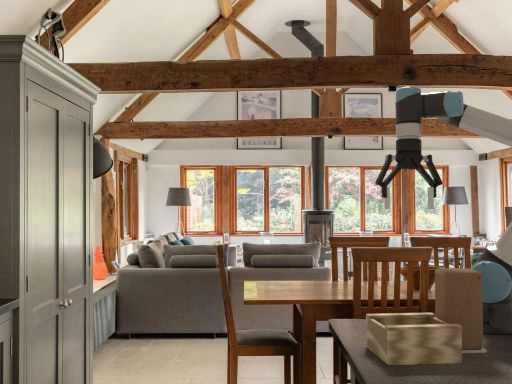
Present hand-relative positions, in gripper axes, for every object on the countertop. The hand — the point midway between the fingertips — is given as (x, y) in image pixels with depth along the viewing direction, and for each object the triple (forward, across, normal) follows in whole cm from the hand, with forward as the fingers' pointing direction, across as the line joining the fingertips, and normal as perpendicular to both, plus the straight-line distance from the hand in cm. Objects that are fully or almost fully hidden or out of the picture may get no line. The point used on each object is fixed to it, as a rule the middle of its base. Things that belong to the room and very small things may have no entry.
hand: (409, 209), depth 177 cm
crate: (+37, +10, +27) cm, 47 cm away
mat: (+37, -5, +22) cm, 43 cm away
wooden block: (+36, -5, +22) cm, 43 cm away
